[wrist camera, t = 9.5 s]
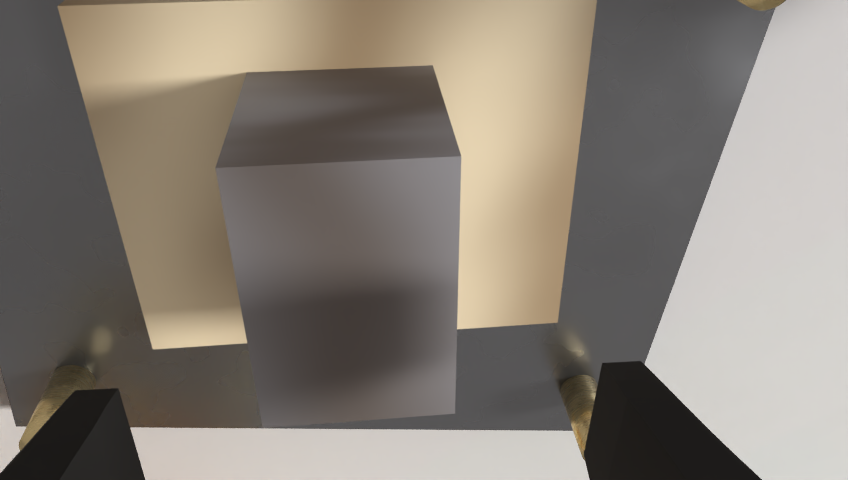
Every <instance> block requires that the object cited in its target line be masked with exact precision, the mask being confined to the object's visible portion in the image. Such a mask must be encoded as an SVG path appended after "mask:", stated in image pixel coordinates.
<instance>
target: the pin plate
mask: <svg viewBox="0 0 848 480" xmlns="http://www.w3.org/2000/svg"><path fill="white" fill-rule="evenodd" d="M63 1H64V0H0V368H1V371H2V375H3V379H4V383H5V386H6V390H7V394H8V398H9V401H10V405H11V409H12V413H13V416H14V420H15V424H16V426H27V427H26V430H25V432H24V434H23V436H22V438H21V440H20V442H19V449H20V451H21V450H22V449H23V448H24V446H25V445H26V444H27V443H28V442H29V441H30V440H31V438H32V437H33V436H34V435H35V434H36V433H37V432H38V431H39V429H40V428H41V427H42V426H43V425H44V424H45V423H46V421H47V420H48V419H49V418H50V417H51V416H52V415H53V414H54V412H55V411H56V410H57V409H58V408H59V407H60V406H61V405H62V404H63V402H64V401H65V400H66V399H67V398H68V397H69V396H70V395H71V394H72V393H73V392H74V391H75V390H92V389H111V388H119V392H120V395H121V399H122V402H123V406H124V409H125V412H126V416H127V419H128V423H129V426H130V427H171V428H263V427H262V421H261V416H260V410H259V405H258V399H257V394H256V388H255V383H254V377H253V372H252V366H251V361H250V355H249V350H248V344H247V343H243V344H228V345H213V346H198V347H183V348H168V349H153V348H152V345H151V341H150V338H149V334H148V330H147V327H146V323H145V320H144V316H143V312H142V309H141V305H140V302H139V298H138V294H137V291H136V287H135V284H134V280H133V276H132V273H131V269H130V266H129V262H128V258H127V255H126V251H125V248H124V244H123V240H122V237H121V233H120V230H119V226H118V222H117V219H116V215H115V212H114V208H113V204H112V201H111V197H110V194H109V190H108V186H107V183H106V179H105V176H104V172H103V168H102V165H101V161H100V158H99V154H98V150H97V147H96V143H95V140H94V136H93V132H92V129H91V125H90V122H89V118H88V114H87V111H86V107H85V104H84V100H83V96H82V93H81V89H80V86H79V82H78V78H77V75H76V71H75V68H74V64H73V60H72V57H71V53H70V50H69V46H68V42H67V39H66V35H65V32H64V28H63V24H62V21H61V17H60V14H59V10H58V5H59V4H61V3H62V2H63ZM784 1H786V0H597V4H596V13H595V21H594V29H593V37H592V45H591V53H590V62H589V70H588V78H587V86H586V94H585V103H584V111H583V119H582V127H581V135H580V144H579V152H578V160H577V168H576V176H575V185H574V193H573V201H572V209H571V217H570V226H569V234H568V242H567V250H566V258H565V266H564V275H563V283H562V291H561V299H560V307H559V316H558V323H545V324H530V325H515V326H500V327H485V328H470V329H457V353H456V394H455V414H444V415H430V416H417V417H404V418H391V419H377V420H364V421H351V422H338V423H324V424H311V425H298V426H284V427H271V428H302V429H432V430H563V431H573V432H574V434H575V437H576V440H577V443H578V446H579V449H580V451H581V454H582V457H583V459H584V460H585V457H584V450H585V445H586V440H587V435H588V430H589V425H590V420H591V415H592V410H593V405H594V400H595V395H596V391H597V386H598V381H599V376H600V371H601V366H602V363H610V362H629V361H641V362H642V363H643V364H644V363H645V361H646V358H647V355H648V353H649V350H650V347H651V344H652V342H653V339H654V336H655V334H656V331H657V328H658V325H659V323H660V320H661V317H662V314H663V312H664V309H665V306H666V304H667V301H668V298H669V295H670V293H671V290H672V287H673V285H674V282H675V279H676V276H677V274H678V271H679V268H680V265H681V263H682V260H683V257H684V255H685V252H686V249H687V246H688V244H689V241H690V238H691V236H692V233H693V230H694V227H695V225H696V222H697V219H698V216H699V214H700V211H701V208H702V206H703V203H704V200H705V197H706V195H707V192H708V189H709V187H710V184H711V181H712V178H713V176H714V173H715V170H716V167H717V165H718V162H719V159H720V157H721V154H722V151H723V148H724V146H725V143H726V140H727V138H728V135H729V132H730V129H731V127H732V124H733V121H734V118H735V116H736V113H737V110H738V108H739V105H740V102H741V99H742V97H743V94H744V91H745V89H746V86H747V83H748V80H749V78H750V75H751V72H752V69H753V67H754V64H755V61H756V59H757V56H758V53H759V50H760V48H761V45H762V42H763V40H764V37H765V34H766V31H767V29H768V26H769V23H770V20H771V18H772V15H773V12H774V10H775V7H777V6H779V5H780V4H782V3H783V2H784Z"/></svg>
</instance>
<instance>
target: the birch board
mask: <svg viewBox="0 0 848 480" xmlns="http://www.w3.org/2000/svg"><path fill="white" fill-rule="evenodd" d="M596 4H597V0H64V1H63V2H62V3H61V4H59V5H58V10H59V14H60V17H61V21H62V24H63V28H64V32H65V35H66V39H67V42H68V46H69V50H70V53H71V57H72V60H73V64H74V68H75V71H76V75H77V78H78V82H79V86H80V89H81V93H82V96H83V100H84V104H85V107H86V111H87V114H88V118H89V122H90V125H91V129H92V132H93V136H94V140H95V143H96V147H97V150H98V154H99V158H100V161H101V165H102V168H103V172H104V176H105V179H106V183H107V186H108V190H109V194H110V197H111V201H112V204H113V208H114V212H115V215H116V219H117V222H118V226H119V230H120V233H121V237H122V240H123V244H124V248H125V251H126V255H127V258H128V262H129V266H130V269H131V273H132V276H133V280H134V284H135V287H136V291H137V294H138V298H139V302H140V305H141V309H142V312H143V316H144V320H145V323H146V327H147V330H148V334H149V338H150V341H151V345H152V348H153V349H168V348H183V347H198V346H213V345H228V344H243V343H247V344H248V350H249V355H250V361H251V366H252V372H253V377H254V383H255V388H256V394H257V399H258V405H259V410H260V416H261V421H262V427H263V428H271V427H284V426H298V425H311V424H324V423H338V422H351V421H364V420H377V419H391V418H404V417H417V416H430V415H444V414H455V394H456V353H457V329H470V328H485V327H500V326H515V325H530V324H545V323H558V316H559V307H560V299H561V291H562V283H563V275H564V266H565V258H566V250H567V242H568V234H569V226H570V217H571V209H572V201H573V193H574V185H575V176H576V168H577V160H578V152H579V144H580V135H581V127H582V119H583V111H584V103H585V94H586V86H587V78H588V70H589V62H590V53H591V45H592V37H593V29H594V21H595V13H596Z"/></svg>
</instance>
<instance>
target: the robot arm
mask: <svg viewBox="0 0 848 480" xmlns="http://www.w3.org/2000/svg"><path fill="white" fill-rule="evenodd" d="M584 457H585V462H586V466H587V470H588V474H589V478H590V480H762V479H760V478H759V477H758V476H757V475H756V474H755V473H754V472H753V471H752V470H751V469H750V468H749V467H748V466H747V465H746V464H744V463H743V462H742V461H741V460H740V459H739V458H738V457H737V456H736V455H735V454H734V453H733V452H732V451H731V450H730V449H729V448H727V447H726V446H725V445H724V444H723V443H722V442H721V441H720V440H719V439H718V438H717V437H716V436H715V435H714V434H713V433H712V432H711V431H710V430H709V429H708V428H707V427H706V426H705V425H704V424H703V423H702V422H701V421H700V420H699V419H698V418H697V417H696V416H695V415H694V414H693V413H692V412H691V411H690V410H689V409H688V408H687V407H686V406H685V405H684V404H683V403H682V402H681V401H680V400H679V399H678V398H677V397H676V396H675V395H674V394H673V393H672V392H671V391H670V390H669V389H668V388H667V387H666V386H665V385H664V384H663V383H662V382H661V381H660V380H659V379H658V378H657V377H656V376H655V375H654V374H653V373H652V372H651V371H650V370H649V369H648V368H647V367H646V366H645V365H644V364H643V363H642V362H641V361H629V362H610V363H602V366H601V371H600V376H599V381H598V386H597V391H596V395H595V400H594V405H593V410H592V415H591V420H590V425H589V430H588V435H587V440H586V445H585V450H584ZM0 480H145V477H144V474H143V471H142V467H141V464H140V460H139V457H138V453H137V450H136V447H135V443H134V440H133V436H132V433H131V430H130V426H129V423H128V419H127V416H126V412H125V409H124V406H123V402H122V399H121V395H120V392H119V388H111V389H92V390H75V391H74V392H73V393H72V394H71V395H70V396H69V397H68V398H67V399H66V400H65V401H64V402H63V404H62V405H61V406H60V407H59V408H58V409H57V410H56V411H55V412H54V414H53V415H52V416H51V417H50V418H49V419H48V420H47V421H46V423H45V424H44V425H43V426H42V427H41V428H40V429H39V431H38V432H37V433H36V434H35V435H34V436H33V437H32V438H31V440H30V441H29V442H28V443H27V444H26V445H25V446H24V448H23V449H22V450H21V451H20V452H19V453H18V454H17V455H16V456H15V458H14V459H13V460H12V461H11V462H10V463H9V464H8V465H7V466H6V468H5V469H4V470H3V471H2V472H1V473H0Z"/></svg>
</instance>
